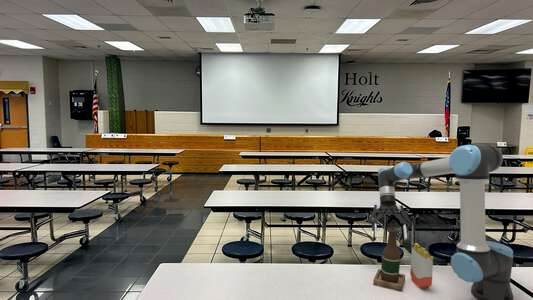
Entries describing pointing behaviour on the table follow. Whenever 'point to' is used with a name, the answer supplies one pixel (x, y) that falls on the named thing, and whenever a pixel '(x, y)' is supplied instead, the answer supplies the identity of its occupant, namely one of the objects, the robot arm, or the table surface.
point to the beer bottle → (391, 259)
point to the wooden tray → (389, 285)
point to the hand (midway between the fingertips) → (390, 238)
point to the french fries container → (421, 267)
